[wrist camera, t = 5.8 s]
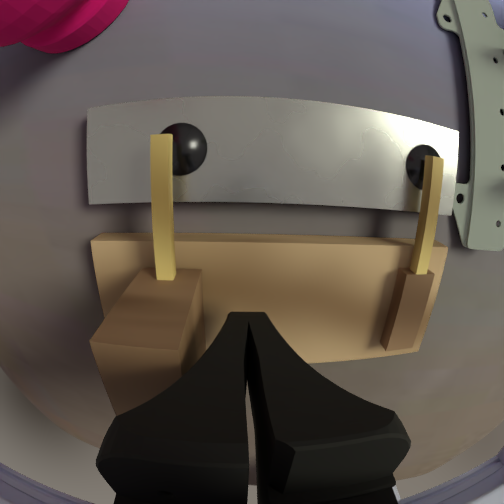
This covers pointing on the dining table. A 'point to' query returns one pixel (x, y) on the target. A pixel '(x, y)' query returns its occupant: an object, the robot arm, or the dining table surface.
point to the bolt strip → (268, 153)
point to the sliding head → (153, 309)
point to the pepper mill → (55, 22)
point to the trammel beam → (304, 281)
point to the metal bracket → (480, 122)
